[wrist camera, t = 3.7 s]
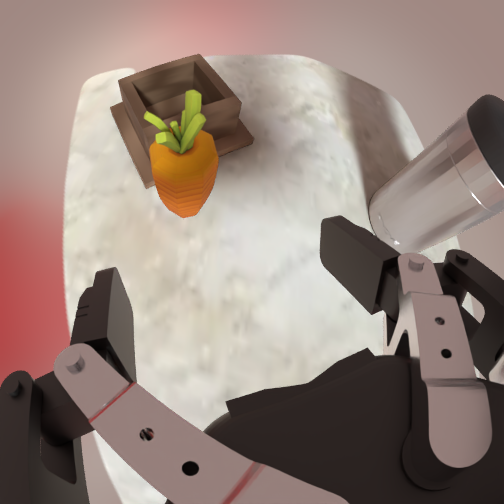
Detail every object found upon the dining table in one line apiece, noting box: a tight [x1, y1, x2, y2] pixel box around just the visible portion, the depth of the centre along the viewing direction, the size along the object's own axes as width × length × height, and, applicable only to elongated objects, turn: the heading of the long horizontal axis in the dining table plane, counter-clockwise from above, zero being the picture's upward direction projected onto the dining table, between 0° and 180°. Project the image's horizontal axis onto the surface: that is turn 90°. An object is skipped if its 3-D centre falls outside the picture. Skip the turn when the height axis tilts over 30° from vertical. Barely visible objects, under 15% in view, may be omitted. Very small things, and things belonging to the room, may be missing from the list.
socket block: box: [110, 54, 254, 189], centre depth 28 cm, size 13×13×6 cm
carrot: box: [144, 90, 219, 218], centre depth 21 cm, size 5×5×15 cm
